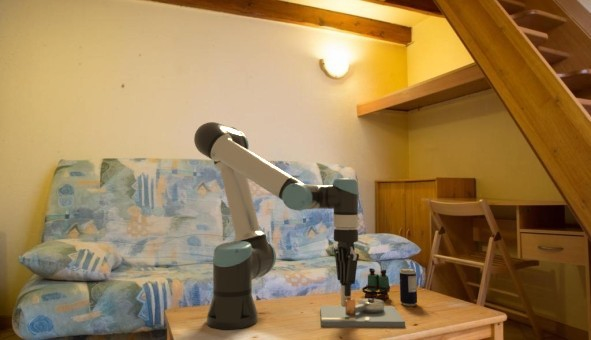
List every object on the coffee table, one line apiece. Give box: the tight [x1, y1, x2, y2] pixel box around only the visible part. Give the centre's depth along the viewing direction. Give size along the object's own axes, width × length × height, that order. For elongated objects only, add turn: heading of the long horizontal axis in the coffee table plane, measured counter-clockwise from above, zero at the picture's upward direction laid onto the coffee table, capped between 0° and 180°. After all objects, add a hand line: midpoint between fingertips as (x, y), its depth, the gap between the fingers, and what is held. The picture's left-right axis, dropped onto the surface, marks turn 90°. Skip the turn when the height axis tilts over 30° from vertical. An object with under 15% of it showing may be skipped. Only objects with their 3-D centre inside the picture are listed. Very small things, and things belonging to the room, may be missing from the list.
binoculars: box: [361, 267, 391, 302], centre depth 142 cm, size 9×11×10 cm
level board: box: [319, 305, 406, 328], centre depth 119 cm, size 24×16×2 cm, turn 88°
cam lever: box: [345, 297, 385, 316], centre depth 119 cm, size 16×8×5 cm, turn 131°
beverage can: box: [399, 267, 418, 307], centre depth 134 cm, size 6×6×12 cm
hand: (346, 306), depth 117 cm, fingers closed
